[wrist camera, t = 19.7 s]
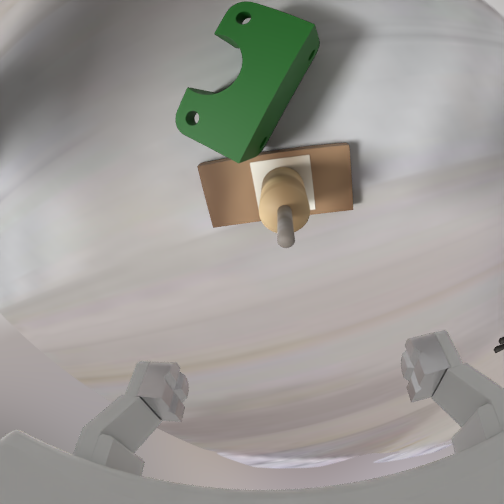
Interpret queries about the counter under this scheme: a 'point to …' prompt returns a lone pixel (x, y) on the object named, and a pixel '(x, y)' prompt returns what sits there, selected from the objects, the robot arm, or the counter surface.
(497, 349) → the ramen bowl
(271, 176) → the awl
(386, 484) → the robot arm
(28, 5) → the counter surface
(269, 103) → the clamp
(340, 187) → the bandage strip
